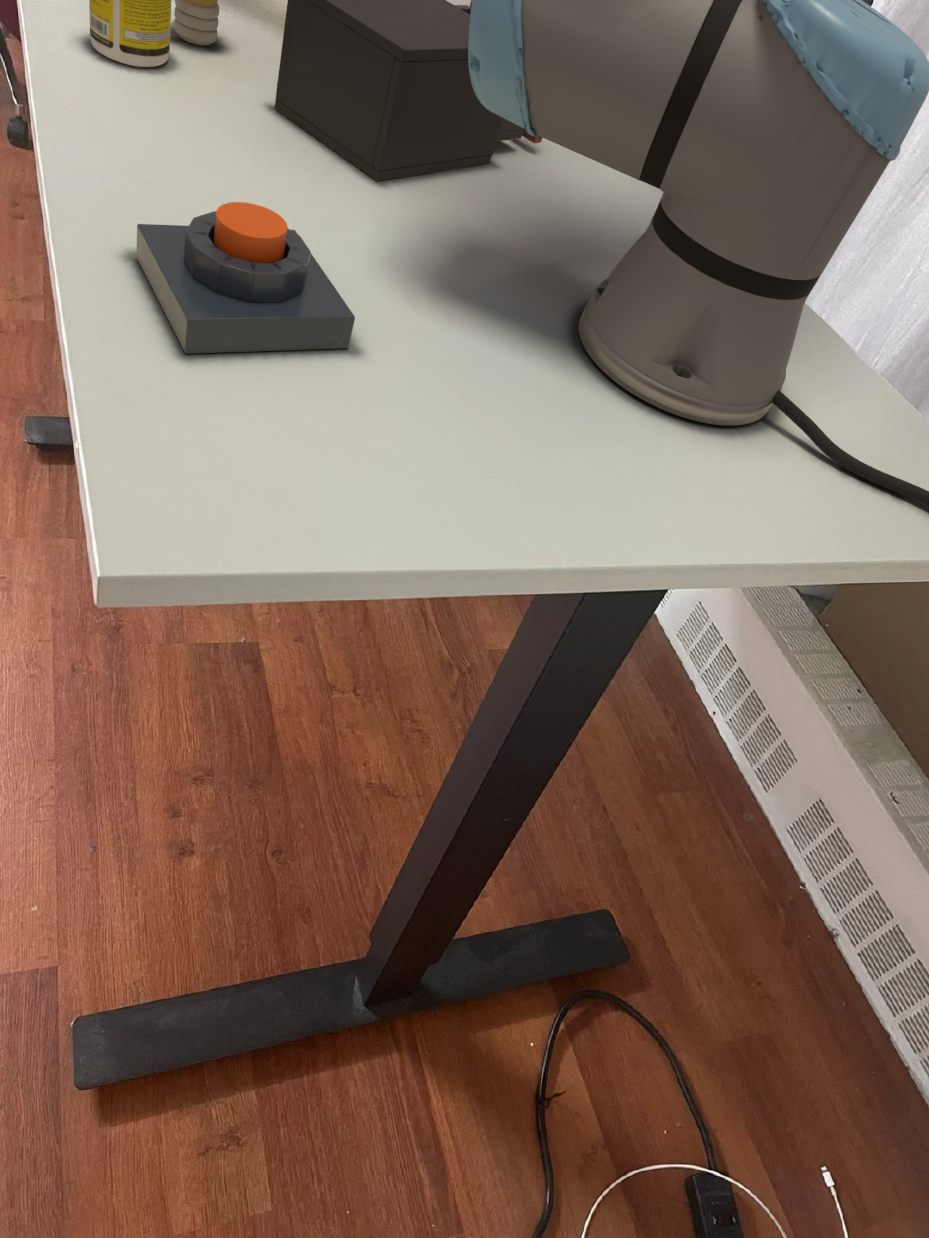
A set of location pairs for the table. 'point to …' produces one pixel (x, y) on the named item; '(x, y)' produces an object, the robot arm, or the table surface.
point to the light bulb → (197, 20)
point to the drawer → (507, 127)
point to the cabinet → (385, 84)
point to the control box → (240, 293)
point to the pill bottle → (131, 30)
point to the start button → (250, 232)
